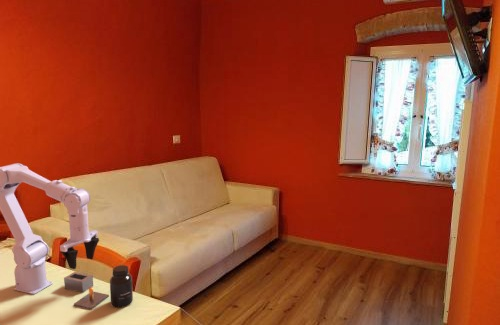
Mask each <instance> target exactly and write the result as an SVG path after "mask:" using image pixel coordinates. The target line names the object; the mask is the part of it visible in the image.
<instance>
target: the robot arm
mask: <svg viewBox="0 0 500 325" xmlns="http://www.w3.org/2000/svg"><path fill="white" fill-rule="evenodd" d="M22 183H24V184H28V185H29V186H32V187H35V188H38V189H40V190H42V191H44V192H45V195H46V196H48V198H49V197H50V198H52V199H54V200H56V201H59V202H61V203H63V204H64V207H65V208H66V210H67V214H68V223H69V224H68V225H69V236H70V237H69V239H68V240H66V241H65V242H64V243H63V244H61V245H59V250H60V253H61V255H62V256H63V257H64V258H65V260H66V262H67V265H68V268H69V269H72V270H75V269H77V257H78V252H79V250H78V249H75V247H76V246H78V245H80V244H83V245H84V249H85V256H86V259H87V260H94V256H95V251H96V248H97V246H98V243H99V242H100V238H99V230H94V229H93V230H92V231H91V230H90V229H89V227H90V226H89V215H88V214H89V213H88V210H89V209H88V204H89V203H90V201H91V195H90V193H89V191H88V190H86V189H85V188H83V187H81V188H76V187H75V186H70V185H68V184H66V183H64V182H63V180H61V179H59V180H57V179H55V180H52V181H51V180H49V179H48V178H46V177H43V176H41V175H40V174H38V173H36V172H34V171H32V170H31V169H29V167H28V166H27V165H24V164H22V163H19V162H18V163H17V162H16V163H15V162H14V163H12V164H8V165H4V166H0V212H1V214H2V217H3V218H4V221H5V222H6V224H7V227H8V229H9V231H10V232H11V234H12V236H13V239H14V240H15V243H14V245H13V247H12V249H11V251H12V254H13V261H14V263H15V268H14V281H15V287H14V288H13V290H15V291H18V292H23V293H26V294H31V295H35V294H37V293H39V292H40V291H42V290H44V289H46V288H48V287H50V286H51V285H53V283H54V281H50V280H47V279H48V277H47V269H46V260H47V256H48V254H49V252H50V247H49V245H48V244H47V243H46V242H45V241H44V240H43V237H42V236H40V235H38V234H34V233H33V229H32V228H31V227H30V224H29V222H28V220H27V218H26V215H25V213H24V211H23V210H22V208H21V205H20V203H19V201H18V198H16V195H15V192H16V189H17V188H18V187H19V186H20V184H22Z"/></svg>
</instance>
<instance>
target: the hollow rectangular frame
mask: <svg viewBox="0 0 500 325" xmlns="http://www.w3.org/2000/svg"><path fill="white" fill-rule="evenodd" d="M63 281H64V282H63V284H64V285H63V286H64V289H65V290H70V291H73V292H79V293H85V292H86V291H89V288H90V287H94V277H93V275H92V274H88V273H83V272H77V271H74V272H72V273H70V274H69V275H68V274H67V276H65V277H63Z"/></svg>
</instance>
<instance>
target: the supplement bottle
mask: <svg viewBox="0 0 500 325" xmlns="http://www.w3.org/2000/svg"><path fill="white" fill-rule="evenodd" d="M129 270H130V269H129V266H127V265H125V264H120V265H117V266H115V267H113V268H112V276H111V277H110V279H109V288H110V289H109V292H110V295H109V297H110V305H111V306H112V307H113V308H117V309H119V308H120V309H121V308H125V307H128V306H130V305H131V304H132V303H133V301H134V293H133V291H134V290H133V289H134V288H133V275H131V273H130V271H129Z"/></svg>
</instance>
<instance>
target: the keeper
mask: <svg viewBox="0 0 500 325" xmlns="http://www.w3.org/2000/svg"><path fill="white" fill-rule="evenodd" d="M109 297H110V295H109V294H108V293H107V294H106V293H102V292H97V291H94V286H92V287H90V288H89V289H88V294H85V295H84V296H83V297H82V298H80V299H79V300H77V301H76V302H74V303H73V306H74V307H79V308H83V309H87V310H93V309H95V308H96V307H97V306H98V305H100V304H101V303H102V302H103V301H105V300H106V299H108V298H109Z"/></svg>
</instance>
